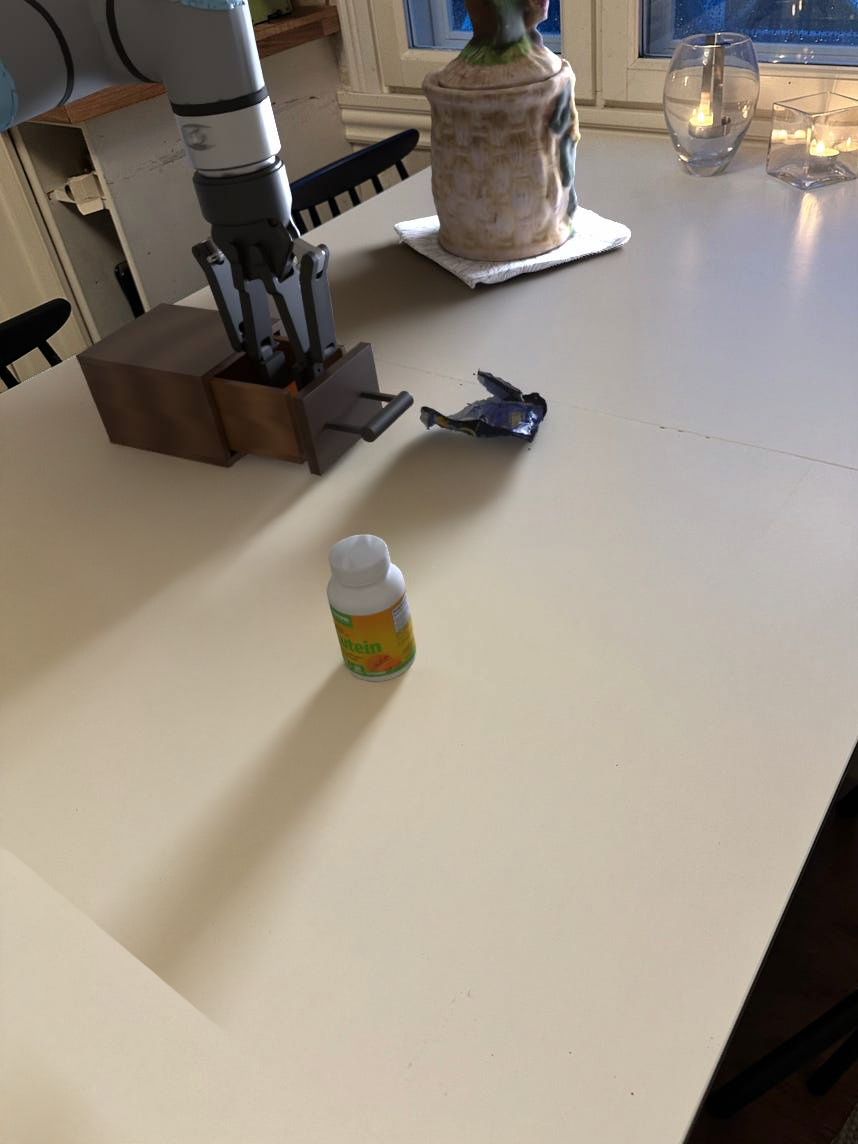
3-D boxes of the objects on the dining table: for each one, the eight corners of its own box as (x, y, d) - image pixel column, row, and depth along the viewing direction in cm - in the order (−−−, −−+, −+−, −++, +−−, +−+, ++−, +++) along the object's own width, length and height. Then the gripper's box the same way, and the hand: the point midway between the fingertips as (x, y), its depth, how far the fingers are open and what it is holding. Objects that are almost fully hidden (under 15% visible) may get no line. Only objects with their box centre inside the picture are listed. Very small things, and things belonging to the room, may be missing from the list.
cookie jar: (474, 295, 118) (443, -15, 97) (389, 242, 135) (347, -33, 113) (637, 243, 126) (642, -55, 104) (538, 199, 142) (525, -66, 121)
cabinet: (303, 407, 100) (281, 318, 94) (228, 468, 92) (200, 376, 86) (188, 386, 107) (161, 302, 100) (110, 442, 99) (75, 355, 92)
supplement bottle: (332, 675, 69) (302, 569, 63) (364, 628, 73) (340, 523, 66) (399, 690, 67) (376, 582, 61) (429, 640, 71) (410, 533, 65)
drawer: (430, 425, 93) (419, 349, 88) (369, 486, 86) (353, 408, 81) (268, 396, 101) (249, 325, 96) (199, 450, 94) (174, 377, 89)
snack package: (475, 391, 100) (401, 440, 93) (478, 335, 95) (402, 381, 88) (570, 436, 95) (500, 491, 88) (579, 379, 90) (506, 432, 84)
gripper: (131, 174, 78) (215, 429, 94) (289, 181, 72) (351, 454, 87) (190, 147, 83) (260, 394, 98) (343, 150, 77) (393, 414, 92)
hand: (303, 422), depth 93 cm, fingers closed on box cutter, 3 cm apart
